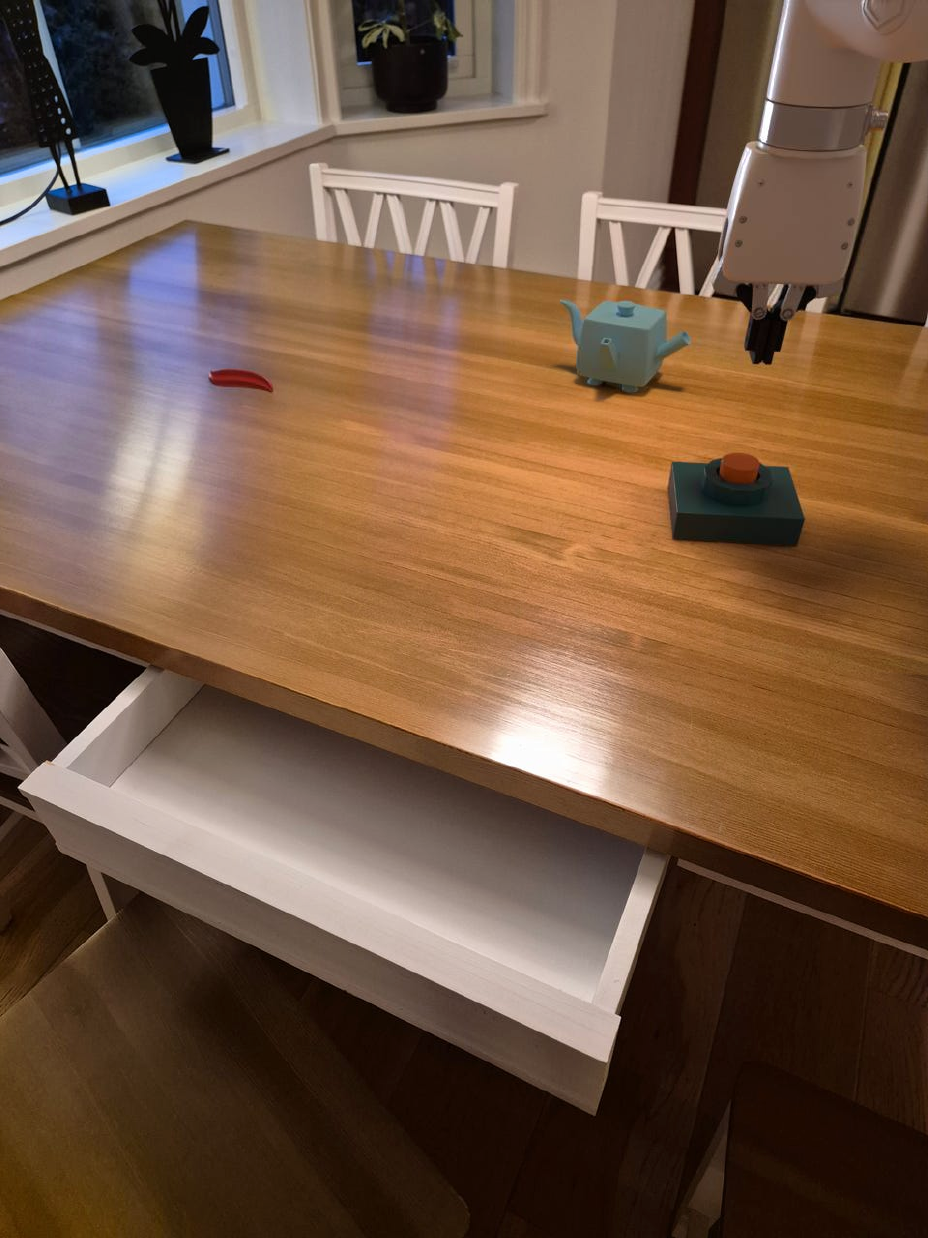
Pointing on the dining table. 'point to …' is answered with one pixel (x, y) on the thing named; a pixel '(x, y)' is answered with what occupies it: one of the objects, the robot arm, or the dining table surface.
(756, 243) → the robot arm
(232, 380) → the cayenne pepper
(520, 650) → the dining table surface
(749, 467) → the orange round cap
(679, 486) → the teal box orange button
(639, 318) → the teapot
